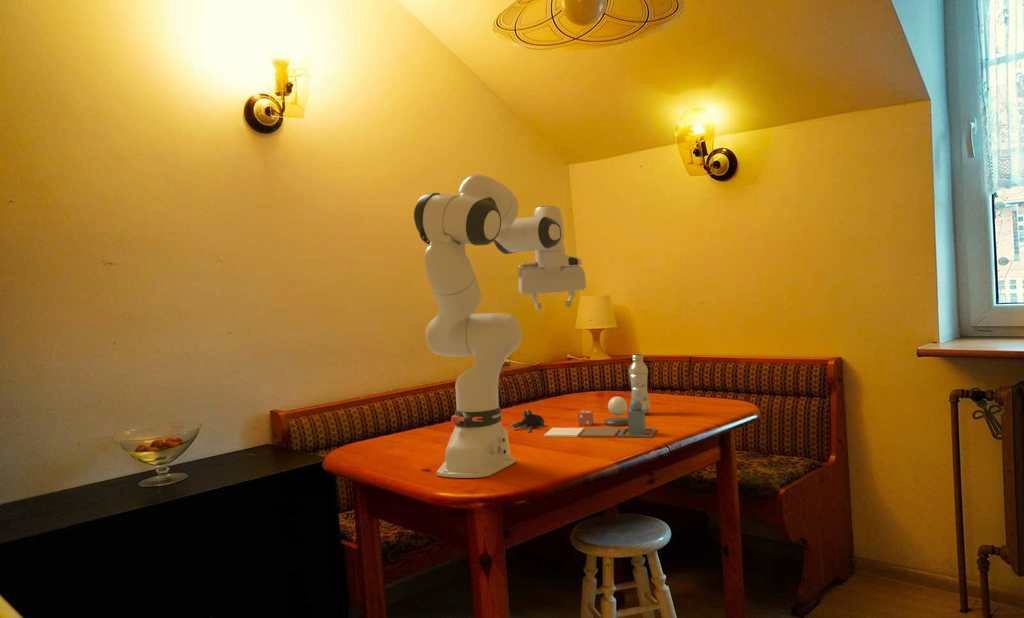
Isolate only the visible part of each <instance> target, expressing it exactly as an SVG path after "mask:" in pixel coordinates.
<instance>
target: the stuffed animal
mask: <svg viewBox="0 0 1024 618" xmlns="http://www.w3.org/2000/svg"><path fill="white" fill-rule="evenodd" d="M522 414H523V418H522V419H521V420H520V421H517V422H513V423H509V426H510V427H511V428H513V429H518V428H522V429H524V428H525V429H527V433H528V434H531V433H532V430H533V429H535V428H537V429H543V428H544V426H545V420H544V418H543V417H542V416H541V415H539V414H535V413H534V414H533V412H532V411H531V409H524V410H523V413H522Z"/></svg>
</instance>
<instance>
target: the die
mask: <svg viewBox="0 0 1024 618" xmlns="http://www.w3.org/2000/svg"><path fill="white" fill-rule="evenodd" d="M577 417H578V419H577V422H578V427H581V426H583V427H589V426H590V427H591V426H592V425H594V423H595V422H594V410H580V411H579V412H578V413H577Z"/></svg>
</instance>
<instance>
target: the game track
mask: <svg viewBox="0 0 1024 618" xmlns="http://www.w3.org/2000/svg"><path fill="white" fill-rule="evenodd" d="M627 431H628V427H623V428H622V429H620V427H586V428H585V427H551V428H550V429H549V430H548V431H547V432H546V433H544V434H543V436H544V438H577V437H580V438H615V437H616V435H617V438H622V439H623V438H624V439H625V438H629V439H630V438H634V439H637V438H639V439H641V438H642V439H646V438H649V439H652V438H654V436H655V434H656V431H657V428H655V427H653V428H651V427H646V432H650V433H649V434H645V435H629V434H625V433H626V432H627ZM628 432H629V431H628Z"/></svg>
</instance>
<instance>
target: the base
mask: <svg viewBox="0 0 1024 618" xmlns="http://www.w3.org/2000/svg"><path fill="white" fill-rule="evenodd" d="M603 424H604V426H608V425H609V427H624V426H628V417H627V416H625V417H624V416H623V417H622V416H621V417H620V416H617V417H609V418H606V419H605V418H604V420H603Z"/></svg>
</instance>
